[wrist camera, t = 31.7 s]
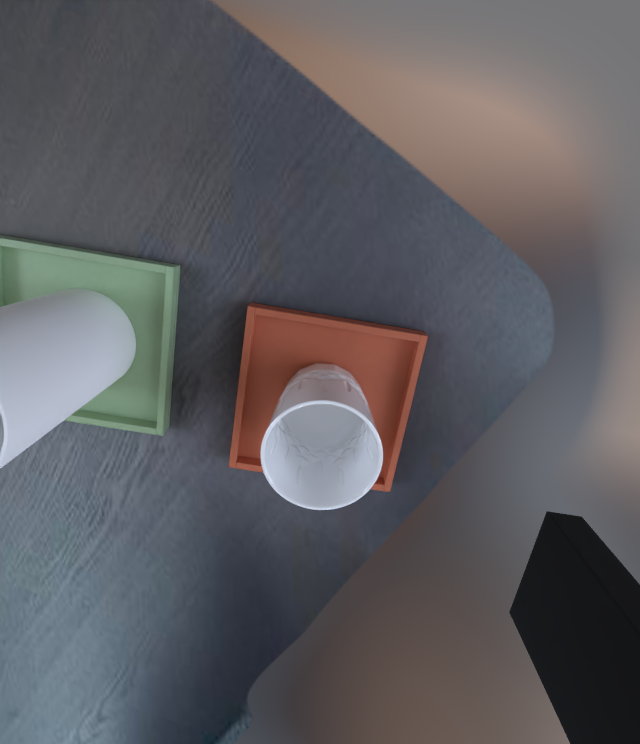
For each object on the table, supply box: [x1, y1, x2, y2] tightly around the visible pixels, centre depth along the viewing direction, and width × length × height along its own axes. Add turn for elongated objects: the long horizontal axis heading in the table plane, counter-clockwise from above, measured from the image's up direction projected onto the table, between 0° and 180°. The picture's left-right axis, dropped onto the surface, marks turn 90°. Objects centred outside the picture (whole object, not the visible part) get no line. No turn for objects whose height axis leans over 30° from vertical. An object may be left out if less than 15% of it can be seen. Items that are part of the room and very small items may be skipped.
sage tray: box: [0, 235, 180, 436], centre depth 38 cm, size 14×14×2 cm
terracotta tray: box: [229, 303, 428, 492], centre depth 39 cm, size 14×14×2 cm
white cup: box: [260, 363, 383, 510], centre depth 35 cm, size 8×8×10 cm
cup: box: [0, 288, 136, 468], centre depth 30 cm, size 8×8×16 cm
